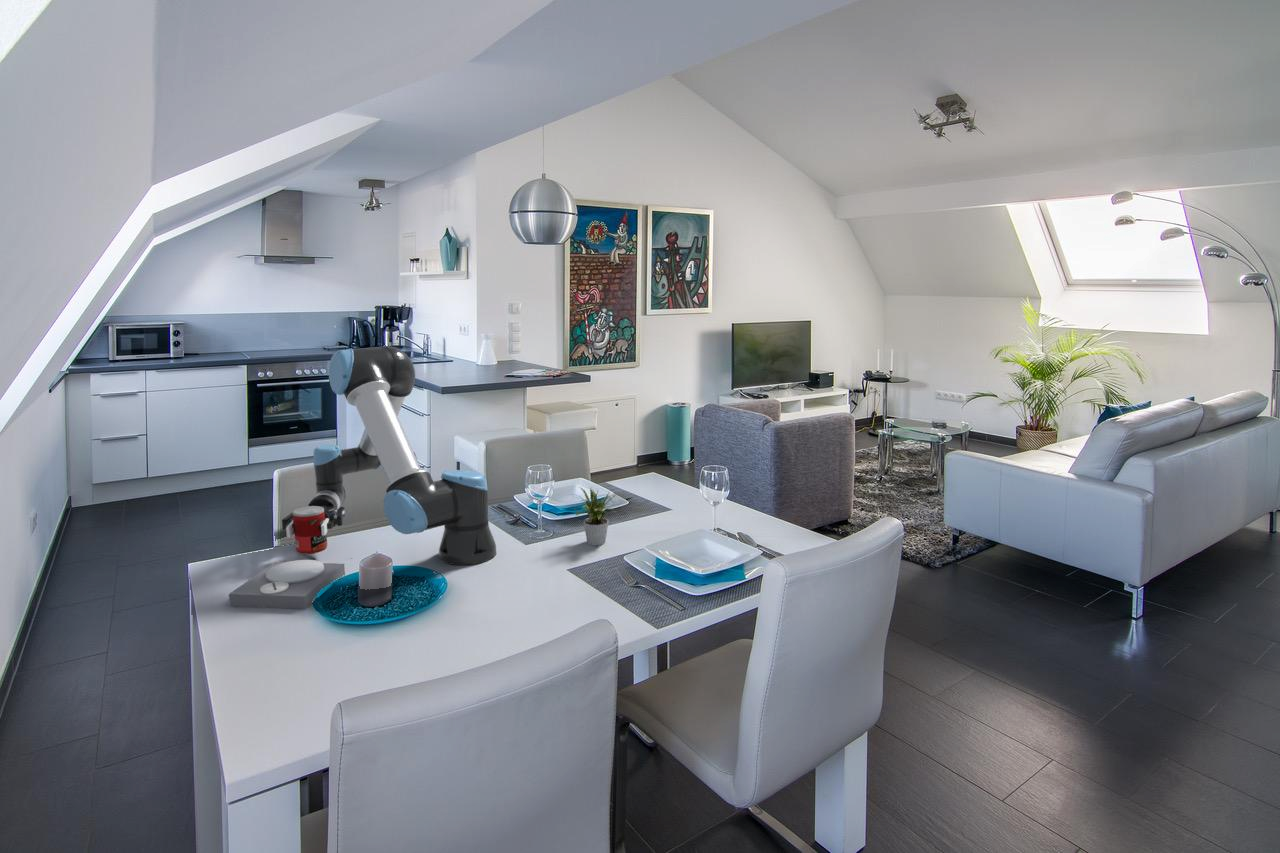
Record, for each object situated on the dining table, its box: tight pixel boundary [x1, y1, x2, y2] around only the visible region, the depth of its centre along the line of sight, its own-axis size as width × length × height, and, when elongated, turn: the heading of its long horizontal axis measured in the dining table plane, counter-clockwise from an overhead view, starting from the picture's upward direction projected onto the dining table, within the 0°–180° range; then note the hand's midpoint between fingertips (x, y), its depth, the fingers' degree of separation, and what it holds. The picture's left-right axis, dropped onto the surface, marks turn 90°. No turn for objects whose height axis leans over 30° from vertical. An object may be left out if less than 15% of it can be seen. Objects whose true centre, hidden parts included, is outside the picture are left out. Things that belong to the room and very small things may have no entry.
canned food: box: [292, 505, 328, 555], centre depth 206 cm, size 8×8×11 cm
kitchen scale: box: [228, 559, 346, 610], centre depth 186 cm, size 18×20×4 cm
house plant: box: [570, 486, 620, 546], centre depth 218 cm, size 14×14×16 cm
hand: (305, 531), depth 201 cm, fingers closed on canned food, 8 cm apart
